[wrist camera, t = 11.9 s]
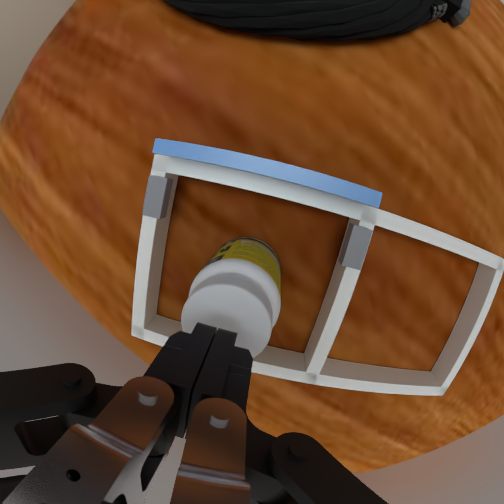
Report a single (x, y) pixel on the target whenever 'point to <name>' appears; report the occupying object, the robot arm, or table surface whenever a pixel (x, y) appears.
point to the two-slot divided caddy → (343, 278)
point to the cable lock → (325, 16)
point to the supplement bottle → (237, 293)
